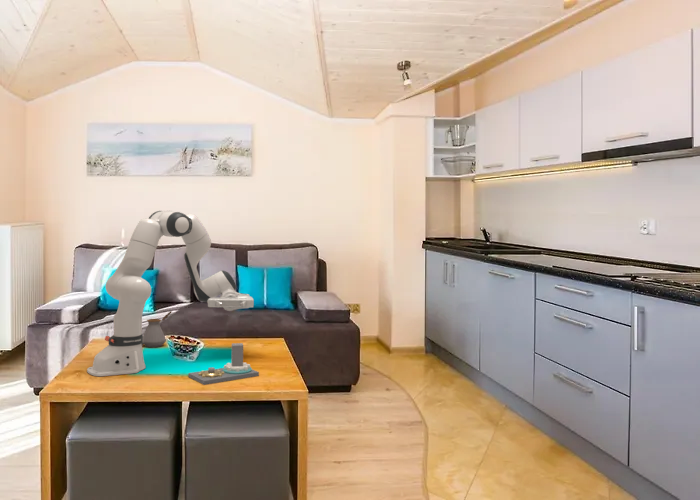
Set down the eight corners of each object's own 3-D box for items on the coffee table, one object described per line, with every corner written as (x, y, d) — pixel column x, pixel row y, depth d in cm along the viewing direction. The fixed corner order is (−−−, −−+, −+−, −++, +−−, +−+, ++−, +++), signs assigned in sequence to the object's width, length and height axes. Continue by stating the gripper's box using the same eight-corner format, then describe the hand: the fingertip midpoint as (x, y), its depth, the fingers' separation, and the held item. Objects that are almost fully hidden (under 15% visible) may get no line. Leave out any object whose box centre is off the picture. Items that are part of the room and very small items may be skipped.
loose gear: (224, 372, 242) (224, 347, 242) (223, 366, 252) (224, 342, 252) (250, 371, 245) (251, 346, 244) (249, 365, 255) (249, 341, 254)
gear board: (204, 384, 232) (204, 374, 232) (188, 376, 243) (188, 366, 242) (258, 375, 247) (258, 365, 247) (241, 368, 258) (241, 359, 258)
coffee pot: (157, 349, 291) (157, 318, 290) (136, 347, 294) (136, 316, 294) (181, 340, 312) (181, 311, 311) (161, 339, 315) (162, 310, 314)
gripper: (207, 293, 278) (207, 297, 264) (252, 294, 282) (254, 297, 269) (206, 307, 278) (206, 312, 264) (252, 307, 283) (254, 312, 269)
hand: (231, 304), depth 267 cm, fingers open, 8 cm apart
